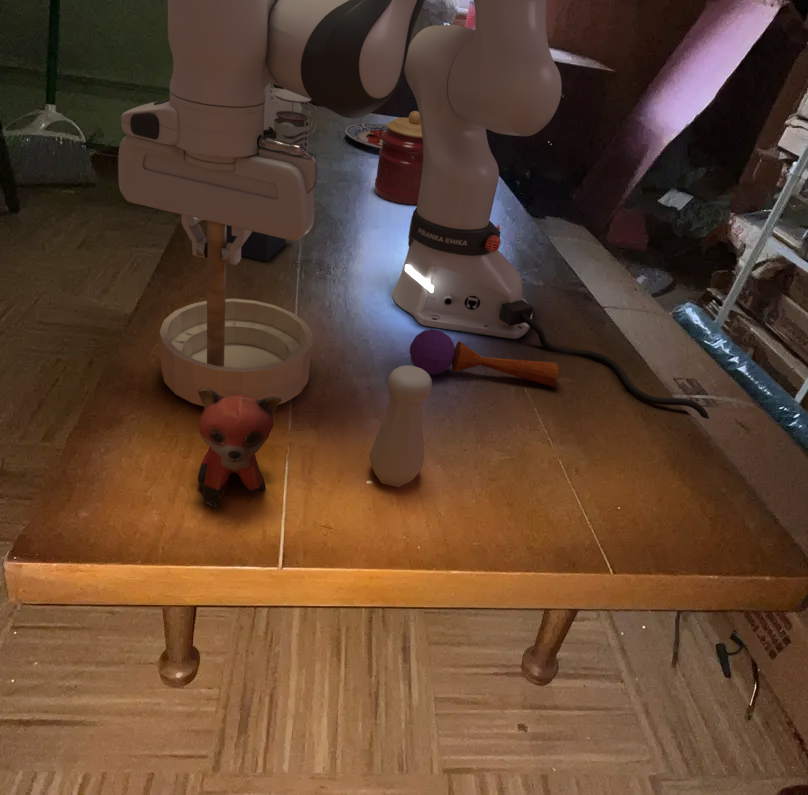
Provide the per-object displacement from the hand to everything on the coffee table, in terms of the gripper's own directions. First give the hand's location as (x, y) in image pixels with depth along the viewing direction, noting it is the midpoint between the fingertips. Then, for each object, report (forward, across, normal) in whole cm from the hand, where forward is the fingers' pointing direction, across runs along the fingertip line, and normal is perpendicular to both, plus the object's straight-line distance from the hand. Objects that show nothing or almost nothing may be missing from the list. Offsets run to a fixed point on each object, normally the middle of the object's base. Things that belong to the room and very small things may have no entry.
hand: (216, 258), depth 79 cm
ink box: (+17, +36, -114) cm, 120 cm away
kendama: (+17, -30, -18) cm, 39 cm away
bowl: (+17, -1, -4) cm, 17 cm away
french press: (+17, +26, -96) cm, 101 cm away
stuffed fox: (+17, -9, +14) cm, 24 cm away
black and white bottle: (+17, +22, -66) cm, 71 cm away
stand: (+17, +13, -42) cm, 47 cm away
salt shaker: (+17, -24, +7) cm, 30 cm away
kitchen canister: (+17, -3, -87) cm, 88 cm away
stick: (+14, 0, 0) cm, 14 cm away
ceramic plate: (+17, +9, -126) cm, 127 cm away
